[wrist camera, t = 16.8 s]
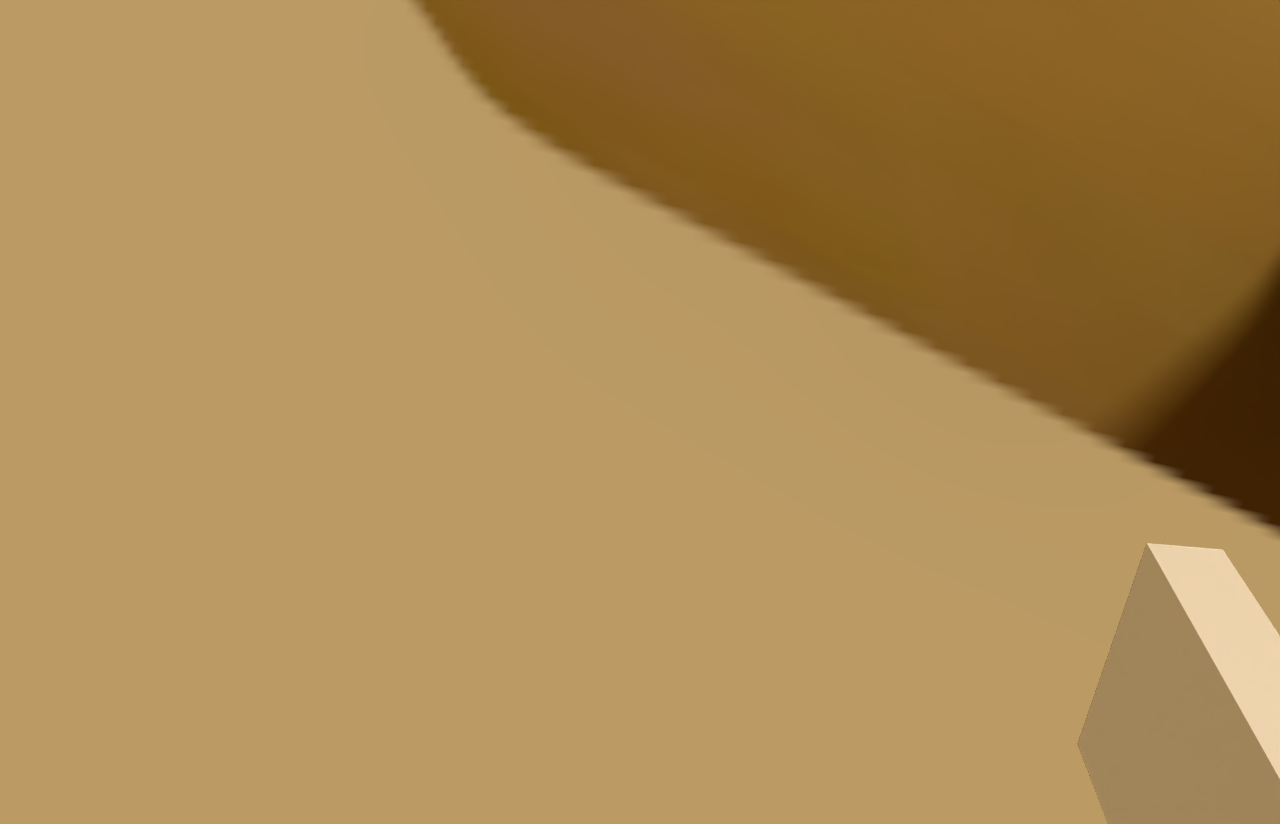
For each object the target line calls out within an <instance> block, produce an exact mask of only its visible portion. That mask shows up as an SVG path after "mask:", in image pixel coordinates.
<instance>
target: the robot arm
mask: <svg viewBox="0 0 1280 824" xmlns="http://www.w3.org/2000/svg"><path fill="white" fill-rule="evenodd" d="M1078 747H1079V749H1080V752H1081V755H1082V757H1083V760H1084V763H1085V765H1086V768H1087V770H1088V773H1089V776H1090V778H1091V781H1092V784H1093V786H1094V789H1095V792H1096V794H1097V797H1098V800H1099V802H1100V805H1101V807H1102V810H1103V812H1104V815H1105V818H1106V821H1107V823H1108V824H1280V636H1279V634H1278V633H1277V631H1276V630H1275V628H1274V627H1273V625H1272V624H1271V622H1270V621H1269V619H1268V617H1267V616H1266V614H1265V613H1264V611H1263V610H1262V608H1261V607H1260V605H1259V604H1258V602H1257V601H1256V599H1255V597H1254V596H1253V594H1252V593H1251V591H1250V590H1249V588H1248V587H1247V585H1246V584H1245V582H1244V581H1243V579H1242V578H1241V576H1240V575H1239V573H1238V571H1237V570H1236V568H1235V567H1234V566H1233V564H1232V562H1231V561H1230V559H1229V558H1228V556H1227V555H1226V553H1225V552H1224V550H1223V549H1213V548H1201V547H1189V546H1178V545H1166V544H1154V543H1147V544H1146V547H1145V550H1144V552H1143V556H1142V559H1141V561H1140V564H1139V567H1138V570H1137V573H1136V576H1135V579H1134V581H1133V584H1132V587H1131V590H1130V593H1129V596H1128V599H1127V602H1126V605H1125V608H1124V610H1123V613H1122V616H1121V619H1120V622H1119V625H1118V628H1117V631H1116V634H1115V636H1114V639H1113V642H1112V645H1111V648H1110V652H1109V654H1108V657H1107V660H1106V663H1105V665H1104V669H1103V671H1102V674H1101V677H1100V680H1099V683H1098V686H1097V689H1096V691H1095V695H1094V697H1093V700H1092V703H1091V706H1090V709H1089V712H1088V715H1087V718H1086V721H1085V723H1084V726H1083V729H1082V732H1081V735H1080V738H1079V741H1078Z"/></svg>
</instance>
